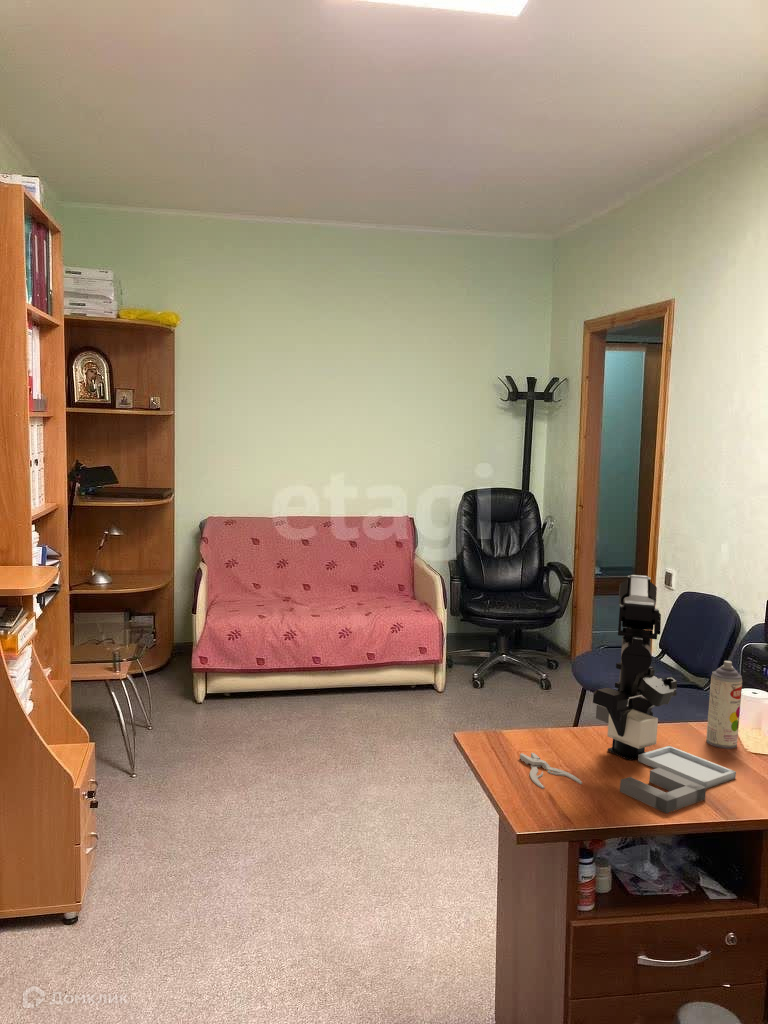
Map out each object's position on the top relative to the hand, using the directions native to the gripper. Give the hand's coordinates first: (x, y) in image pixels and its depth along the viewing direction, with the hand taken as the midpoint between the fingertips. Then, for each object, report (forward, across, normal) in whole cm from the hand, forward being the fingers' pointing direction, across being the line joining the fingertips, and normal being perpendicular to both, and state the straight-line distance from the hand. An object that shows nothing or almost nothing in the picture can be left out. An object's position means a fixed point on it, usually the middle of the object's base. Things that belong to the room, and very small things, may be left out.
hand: (630, 733), depth 168 cm
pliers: (+11, -13, +12) cm, 20 cm away
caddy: (+1, 0, +2) cm, 2 cm away
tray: (+10, +16, -3) cm, 19 cm away
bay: (+10, 0, -9) cm, 13 cm away
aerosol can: (+10, +38, +2) cm, 39 cm away
